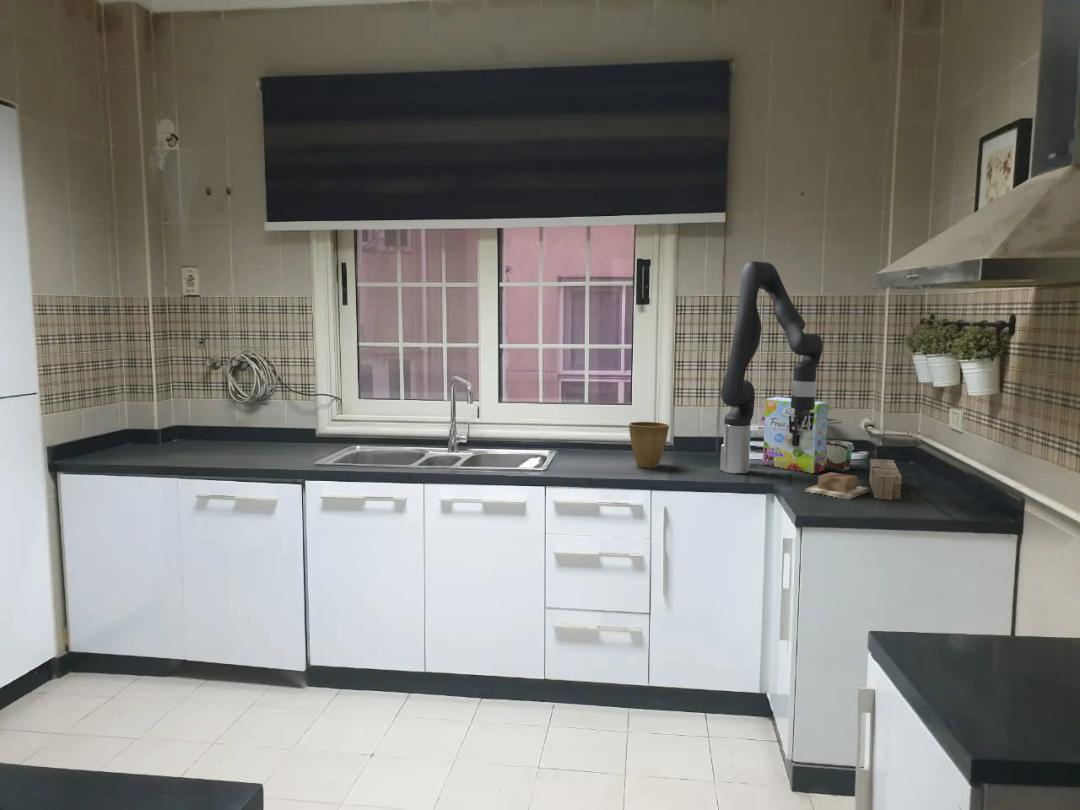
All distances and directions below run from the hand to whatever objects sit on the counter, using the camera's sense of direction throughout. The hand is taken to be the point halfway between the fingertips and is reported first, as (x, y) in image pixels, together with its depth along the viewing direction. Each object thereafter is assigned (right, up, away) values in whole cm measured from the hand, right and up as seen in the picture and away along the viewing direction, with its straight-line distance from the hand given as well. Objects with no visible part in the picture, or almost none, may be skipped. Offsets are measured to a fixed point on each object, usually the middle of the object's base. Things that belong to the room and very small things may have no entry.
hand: (799, 444), depth 261 cm
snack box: (+8, -11, +31) cm, 34 cm away
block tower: (+26, -15, -3) cm, 31 cm away
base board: (+10, -15, -7) cm, 19 cm away
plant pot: (-46, -10, +32) cm, 57 cm away
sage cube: (0, -1, 0) cm, 1 cm away
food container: (+26, -11, +32) cm, 42 cm away
